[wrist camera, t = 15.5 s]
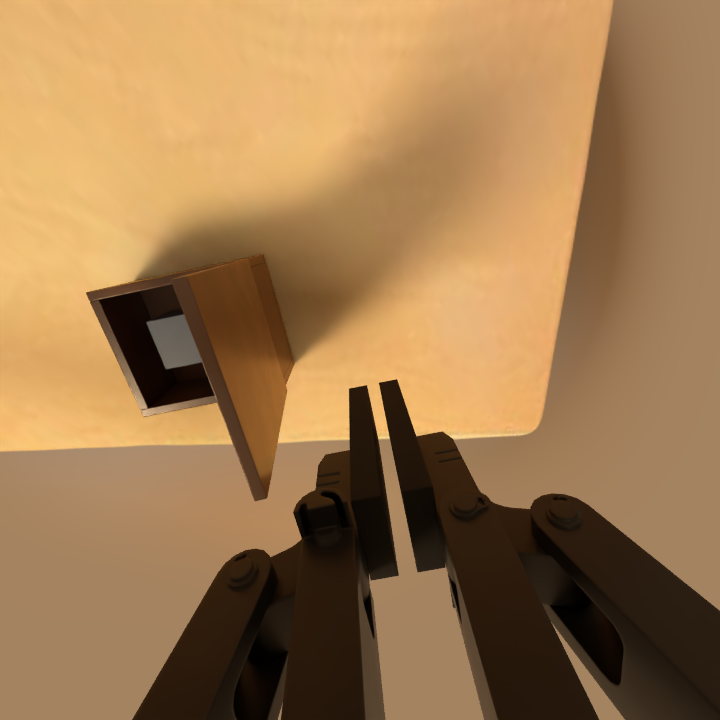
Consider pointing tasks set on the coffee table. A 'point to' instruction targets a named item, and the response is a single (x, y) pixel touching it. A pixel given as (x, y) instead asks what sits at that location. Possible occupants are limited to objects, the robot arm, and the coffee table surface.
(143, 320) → the chest
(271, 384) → the lid
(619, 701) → the robot arm
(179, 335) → the block
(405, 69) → the coffee table surface
